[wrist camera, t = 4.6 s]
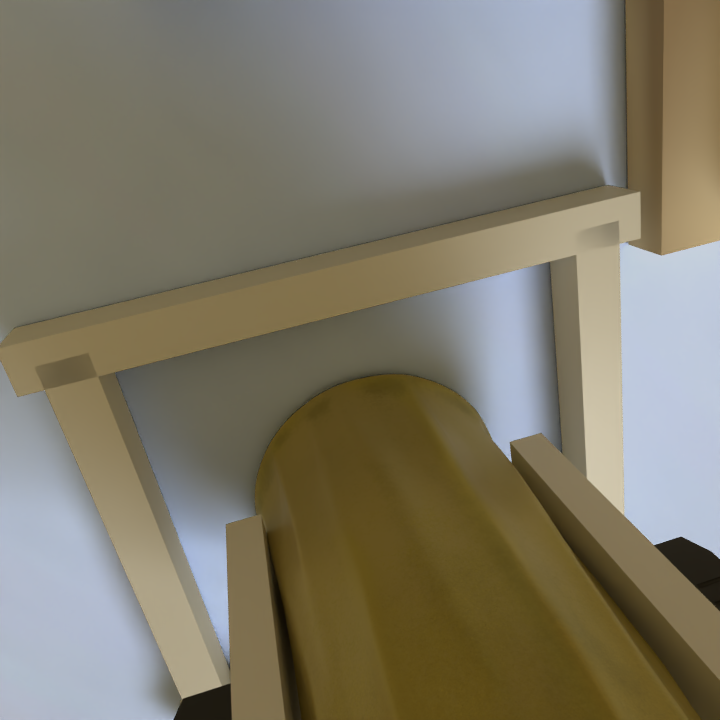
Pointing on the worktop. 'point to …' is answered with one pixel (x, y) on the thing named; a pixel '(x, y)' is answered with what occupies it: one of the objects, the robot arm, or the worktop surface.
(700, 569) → the robot arm
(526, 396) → the worktop surface
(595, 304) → the rim
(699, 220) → the wooden divided tray
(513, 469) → the vase
